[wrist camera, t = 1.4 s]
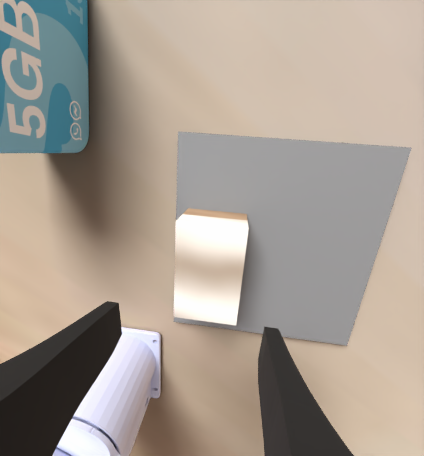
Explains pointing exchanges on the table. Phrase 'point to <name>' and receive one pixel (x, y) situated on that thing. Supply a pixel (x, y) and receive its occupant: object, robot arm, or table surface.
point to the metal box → (209, 265)
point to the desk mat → (295, 224)
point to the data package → (44, 76)
